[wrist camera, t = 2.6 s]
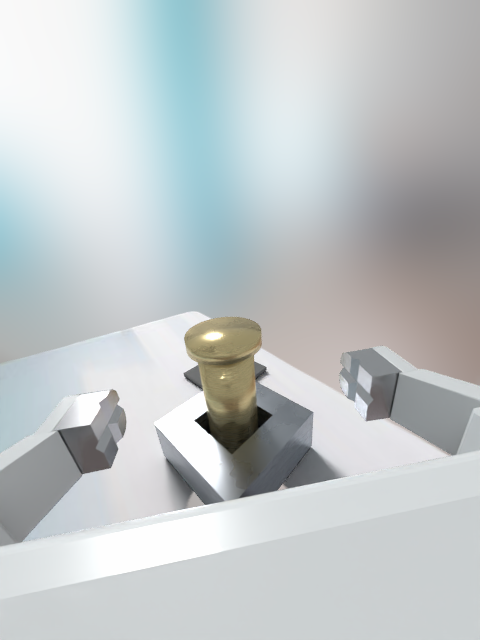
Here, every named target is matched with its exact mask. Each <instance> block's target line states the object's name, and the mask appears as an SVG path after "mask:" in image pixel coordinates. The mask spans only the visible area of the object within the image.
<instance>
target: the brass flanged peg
mask: <svg viewBox="0 0 480 640" xmlns="http://www.w3.org/2000/svg"><path fill="white" fill-rule="evenodd" d="M184 340H185V345H186V350H187V354H188V356H189V357H190V358H191V359H192V360H194V361H196V362H198V365H199V371H200V376H201V382H202V388H203V393H204V399H205V405H206V410H207V416H208V422H209V427H210V433H211V436H212V437H213V438H214V439H215V440H216V441H217V442H218V443H220V444H221V445H222V446H223V447H224V448H225V449H226V450H228V451H229V452H230V453H231V454H233V453H234V452H235V451H236V450H237V449H238V448H239V447H240V446H241V445H242V444H244V443H245V442H246V441H247V440H248V439H249V438H250V437H251V436H252V435H253V434H254V433H255V432H256V431H257V430H258V414H257V399H256V383H255V368H254V355H255V354H256V353H257V352H258V351H259V349H260V348H261V345H262V339H261V328H260V326H259V325H258V324H257V323H256V322H254V321H252V320H249V319H246V318H240V317H221V318H215V319H210V320H207V321H204V322H201V323H199V324H197V325H195V326H193V327H192V328H190V329H189V330H188V331H187V332H186V334H185V337H184Z"/></svg>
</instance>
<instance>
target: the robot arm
mask: <svg viewBox="0 0 480 640" xmlns="http://www.w3.org/2000/svg"><path fill="white" fill-rule="evenodd" d="M340 363H341V364H342V365H343V366H344V368H343V369H342V370H341V372H340V375H339V376H340V377H339V381H340V386H341V389H342V391H343V393H344V394H345V396H346V397H347V398H348V399H350V400H352V401H355V406H354V407H355V408H356V410H357V411H358V412H359V413H360V415H361V416H362V417H363V418H364V420H365V421H371V420H378V419H384V418H390V419H391V420H393V421H395V422H396V423H398V424H400V425H402V426H403V427H405V428H407V429H408V430H410V431H412V432H413V433H415V434H417V435H419V436H420V437H422V438H424V439H425V440H427V441H429V442H430V443H432V444H434V445H435V446H437V447H439V448H441V449H442V450H444V451H446V452H447V453H449V454H451V455H452V456H448V457H443V458H438V459H433V460H428V461H423V462H418V463H413V464H408V465H403V466H398V467H393V468H388V469H383V470H378V471H373V472H368V473H363V474H358V475H353V476H348V477H343V478H338V479H333V480H328V481H323V482H318V483H314V484H309V485H304V486H299V487H294V488H289V489H284V490H279V491H274V492H269V493H264V494H259V495H254V496H249V497H244V498H239V499H234V500H229V501H224V502H219V503H214V504H209V505H204V506H199V507H194V508H189V509H184V510H179V511H174V512H169V513H164V514H159V515H154V516H149V517H144V518H139V519H134V520H129V521H124V522H119V523H114V524H109V525H104V526H99V527H94V528H89V529H84V530H79V531H74V532H69V533H64V534H59V535H54V536H49V537H44V538H39V539H34V540H29V541H25V542H22V541H23V540H24V539H25V538H26V537H27V535H28V534H29V533H30V532H31V531H32V530H33V529H34V528H35V527H36V526H37V525H38V523H39V522H40V521H41V520H42V519H43V518H44V517H45V516H46V515H47V514H48V513H49V511H50V510H51V509H52V508H53V507H54V506H55V505H56V504H57V503H58V502H59V501H60V499H61V498H62V497H63V496H64V495H65V494H66V493H67V492H68V491H69V490H70V489H71V487H72V486H73V485H74V484H75V483H76V482H77V481H78V480H79V479H80V478H81V477H82V474H85V473H90V472H95V471H99V470H104V469H109V468H111V466H112V464H113V461H114V459H115V456H116V454H117V451H118V447H117V445H116V443H117V442H118V441H119V440H120V439H121V438H123V435H124V433H125V429H126V416H125V412H124V409H123V408H121V407H120V406H118V405H117V403H118V401H119V397H118V394H117V392H116V391H115V390H113V389H112V390H104V391H97V392H90V393H83V394H76V395H70V396H66V397H64V398H63V399H62V400H61V401H60V402H59V404H58V405H57V406H56V407H55V408H54V410H53V411H52V412H51V413H50V415H49V416H48V417H47V418H46V420H45V421H44V422H43V423H42V424H41V426H40V427H39V428H38V429H37V431H36V432H35V433H34V434H33V435H29V436H26V437H25V438H23V439H22V440H20V441H19V442H17V443H16V444H14V445H13V446H11V447H10V448H8V449H7V450H5V451H3V452H2V453H0V640H480V386H478V385H475V384H472V383H468V382H465V381H461V380H458V379H455V378H451V377H448V376H445V375H441V374H438V373H435V372H431V371H428V370H425V369H420V370H418V369H417V368H415V367H414V366H413V365H411V364H410V363H408V362H407V361H405V360H404V359H403V358H401V357H400V356H399V355H397V354H396V353H394V352H393V351H391V350H390V349H389V348H387V347H385V346H378V347H373V348H369V349H364V350H358V351H353V352H346V353H343V354H342V356H341V362H340Z"/></svg>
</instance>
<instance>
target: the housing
mask: <svg viewBox="0 0 480 640" xmlns="http://www.w3.org/2000/svg"><path fill="white" fill-rule="evenodd" d="M255 383H256V399H257V414H258V430H257V431H256V432H255V433H254V434H253V435H252V436H251V437H250V438H249V439H248V440H247V441H246V442H245V443H244V444H242V445H241V446H240V447H239V448H238V449H237V450H236V451H235V452H234V453H233V454H231V453H230V452H229V451H228V450H226V449H225V448H224V447H223V446H222V445H221V444H220V443H218V442H217V441H216V440H215V439H214V438H213V437H212V436H211V433H210V427H209V422H208V416H207V410H206V405H205V399H204V393H203V391H202V392H201V393H199V394H198V395H196V396H195V397H193V398H192V399H190V400H189V401H187V402H186V403H184V404H183V405H181V406H180V407H178V408H177V409H175V410H174V411H172V412H171V413H169V414H168V415H166V416H164V417H163V418H161V419H160V420H158V421H157V422H155V423H154V424H155V427H156V431H157V434H158V437H159V440H160V444H161V447H162V450H163V453H164V456H165V457H166V458H167V459H168V460H169V462H170V463H171V464H172V465H173V467H174V468H175V469H176V470H177V471H178V473H179V474H180V475H181V476H182V477H183V479H184V480H185V481H186V482H187V484H188V485H189V486H190V487H191V488H192V490H193V491H194V492H195V493H196V494H197V496H198V497H199V498H200V499H201V500H202V502H203V503H204V504H205V505H209V504H214V503H219V502H224V501H229V500H234V499H239V498H244V497H249V496H254V495H259V494H264V493H269V492H274V491H277V490H278V489H279V488H280V486H281V485H282V484H283V482H284V481H285V480H286V478H287V477H288V476H289V474H290V473H291V472H292V471H293V469H294V468H295V467H296V465H297V464H298V463H299V461H300V460H301V459H302V457H303V456H304V455H305V454H306V452H307V451H308V450H309V448H310V447H311V446H312V428H313V412H312V411H310V410H308V409H306V408H304V407H302V406H300V405H299V404H297V403H295V402H293V401H291V400H289V399H287V398H285V397H284V396H282V395H280V394H278V393H276V392H274V391H272V390H270V389H269V388H267V387H265V386H263V385H261V384H259V383H257V382H255Z"/></svg>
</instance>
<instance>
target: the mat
mask: <svg viewBox="0 0 480 640" xmlns="http://www.w3.org/2000/svg"><path fill="white" fill-rule="evenodd" d="M254 368H255V378H257V377H258V376H259V375H260V374H262V373H263V372H264V371H266V367H265V366H263V365H261V364H258V363H256V362H254ZM184 376H185V377H186V378H188V379H189V380H191V381H192V382H194V383H195V384H196V385H198V386H199V387H201V388H202V382H201V376H200V371H199V365H197V366H196V367H194V368H192V369H190V370H189V371H187V372H185V373H184ZM202 389H203V388H202Z"/></svg>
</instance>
